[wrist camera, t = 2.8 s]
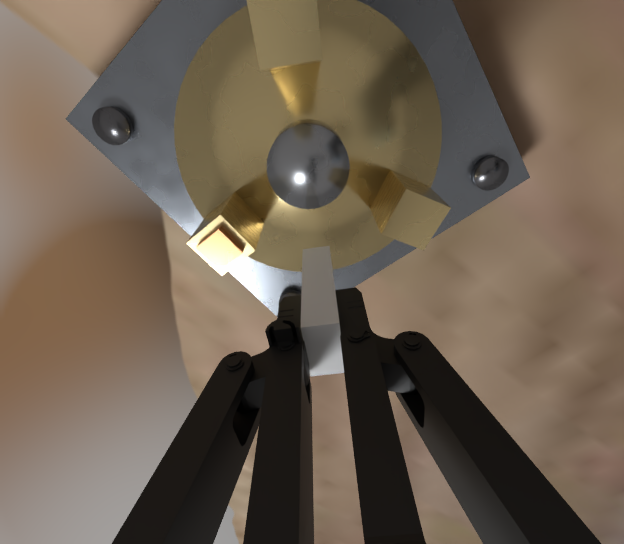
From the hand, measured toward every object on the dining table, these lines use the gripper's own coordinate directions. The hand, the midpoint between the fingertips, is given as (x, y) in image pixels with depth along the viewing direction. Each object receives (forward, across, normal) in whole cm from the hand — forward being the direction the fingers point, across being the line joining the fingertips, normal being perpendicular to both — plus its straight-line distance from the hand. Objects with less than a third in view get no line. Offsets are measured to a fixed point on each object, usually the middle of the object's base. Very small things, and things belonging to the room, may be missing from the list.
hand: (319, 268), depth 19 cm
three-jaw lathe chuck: (+5, 0, +6) cm, 7 cm away
